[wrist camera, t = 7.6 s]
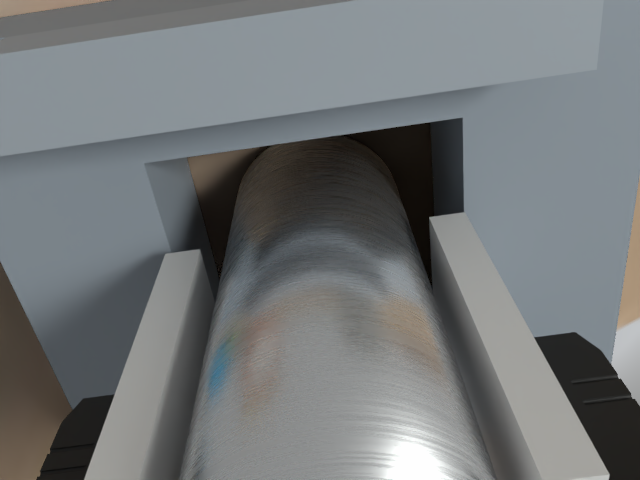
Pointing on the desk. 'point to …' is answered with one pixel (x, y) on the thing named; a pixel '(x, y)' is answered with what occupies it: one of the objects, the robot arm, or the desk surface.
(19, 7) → the desk surface
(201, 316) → the robot arm
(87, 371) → the frame
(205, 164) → the desk surface
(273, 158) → the bushing
